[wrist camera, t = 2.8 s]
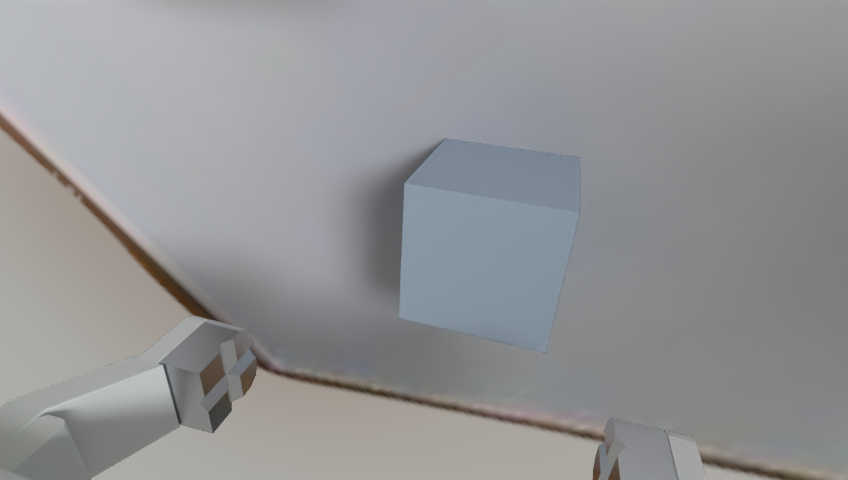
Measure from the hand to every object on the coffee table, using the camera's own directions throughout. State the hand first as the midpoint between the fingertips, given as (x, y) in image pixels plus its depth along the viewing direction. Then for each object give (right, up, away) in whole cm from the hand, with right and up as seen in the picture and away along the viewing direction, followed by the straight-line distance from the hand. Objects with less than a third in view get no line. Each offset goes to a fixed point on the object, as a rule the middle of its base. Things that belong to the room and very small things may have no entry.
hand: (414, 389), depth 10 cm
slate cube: (+3, +5, +8) cm, 10 cm away
